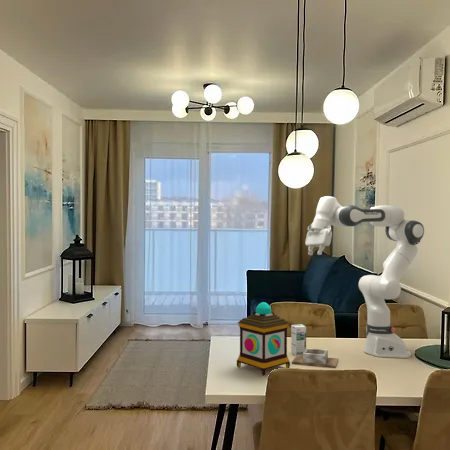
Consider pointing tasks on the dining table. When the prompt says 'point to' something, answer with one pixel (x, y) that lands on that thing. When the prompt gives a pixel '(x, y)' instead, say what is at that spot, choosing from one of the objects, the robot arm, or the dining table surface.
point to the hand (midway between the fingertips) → (314, 254)
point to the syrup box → (298, 339)
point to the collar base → (315, 358)
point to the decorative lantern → (263, 340)
